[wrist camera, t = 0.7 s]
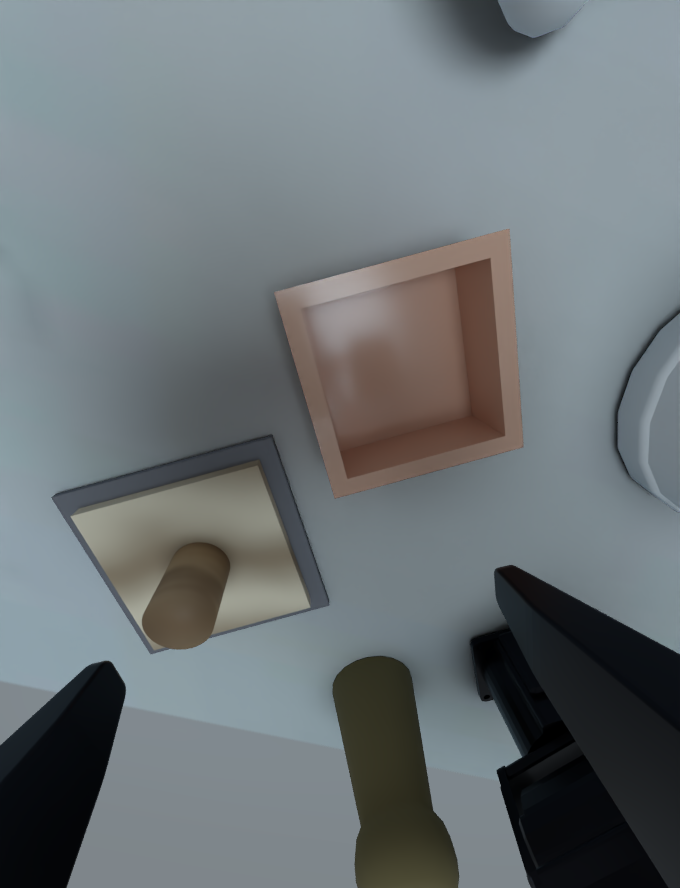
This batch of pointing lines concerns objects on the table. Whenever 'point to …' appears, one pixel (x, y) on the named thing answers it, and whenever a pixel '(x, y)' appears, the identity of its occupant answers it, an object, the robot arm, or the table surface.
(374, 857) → the olive pestle
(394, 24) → the table surface
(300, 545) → the mat
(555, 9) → the white decorative knot
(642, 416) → the bottle
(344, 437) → the pink open box
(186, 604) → the lid
